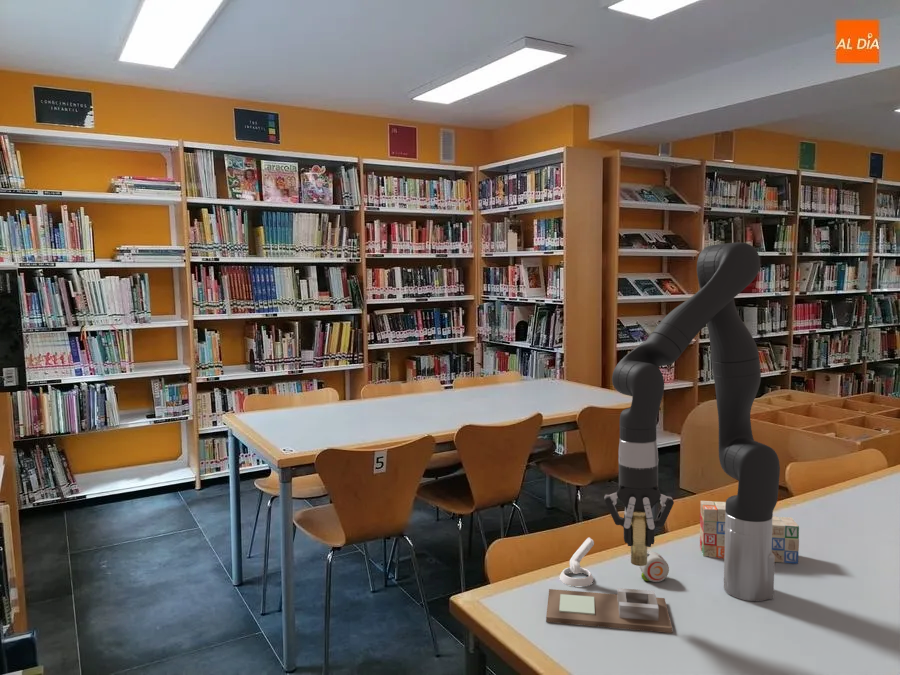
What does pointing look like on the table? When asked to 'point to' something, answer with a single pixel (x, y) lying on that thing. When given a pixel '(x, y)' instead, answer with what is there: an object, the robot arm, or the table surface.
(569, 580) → the white vr controller
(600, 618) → the walnut board
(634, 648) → the table surface
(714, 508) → the stack of blocks
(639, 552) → the brass peg
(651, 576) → the roller toy
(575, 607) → the sage pad
